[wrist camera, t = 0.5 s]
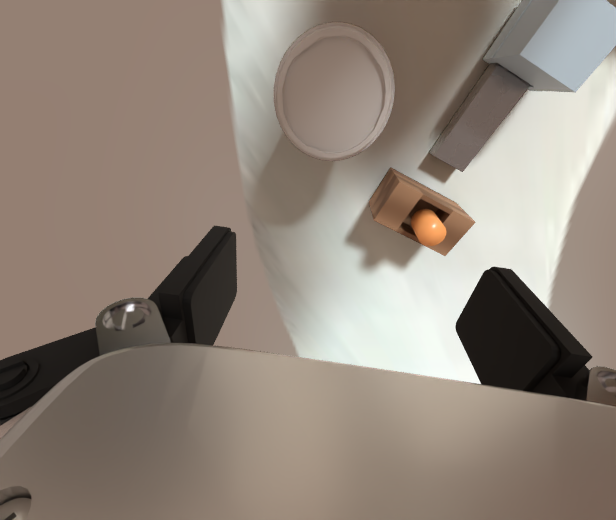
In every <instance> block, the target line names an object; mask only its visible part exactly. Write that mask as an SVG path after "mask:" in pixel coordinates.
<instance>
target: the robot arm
mask: <svg viewBox="0 0 616 520" xmlns="http://www.w3.org/2000/svg"><path fill="white" fill-rule="evenodd" d="M236 271H237V270H236V234H235V232H231V229H230V228H227V227H220V226H214V227H213V228H212V229H211V230H210V231H209V232H208V234H207V235H206V236H205V237H204V238H203V239H202V241H201V242H200V243H199V245H197V246H196V248H195V249H194V250H193V251H192V252H191V254H190V255H189V256H186V257H184V258H183V259H182V260H181V261H180V262H179V263H178V264H177V266H176V267H175V268H174V269H173V270H172V271H171V273H170V274H169V275H168V276H167V277H166V278H165V279H164V281H163V282H162V283H161V284H160V285H159V286H158V287H157V289H156V290H155V291H154V292H153V293H152V294H151V296H150V297H149V298H148V299H145V298H128V299H123V300H120V301H117V302H115V303H113V304H111V305H109V306H107V307H106V308H105V309H103V310H102V311H101V312H100V313H99V315H98V316H97V318H96V323H95V326H96V327H95V328H93V329H90V330H87V331H84V332H81V333H78V334H75V335H72V336H69V337H66V338H63V339H60V340H58V341H55V342H52V343H49V344H46V345H43V346H40V347H37V348H34V349H31V350H28V351H25V352H22V353H19V354H16V355H13V356H11V357H8V358H5V359H3V360H0V520H616V370H614V369H610V368H607V367H601V366H596V367H593V368H591V369H590V370H589V369H588V368H587V367H586V366H585V364H586V363H587V362H588V361H589V360H590V359H591V358H592V356H591V355H590V354H589V353H588V352H587V350H586V349H585V348H584V347H583V346H582V345H581V344H580V343H579V342H578V341H577V340H576V339H575V337H574V336H573V335H572V334H571V333H570V332H569V331H568V330H567V329H566V328H565V327H564V326H563V325H562V323H561V322H560V321H559V320H558V319H557V318H556V317H555V316H554V315H553V314H552V313H551V312H550V310H549V309H548V308H547V307H546V306H545V305H544V304H543V303H542V302H541V301H540V300H539V299H538V298H537V296H536V295H535V294H534V293H533V292H532V291H531V290H530V289H529V288H528V287H527V286H526V285H525V283H524V282H523V281H522V280H521V279H520V278H519V277H518V276H517V275H516V274H515V273H514V272H513V271H512V270H511V269H506V268H499V267H491V268H490V269H489V270H486V271H484V273H483V275H482V276H481V278H480V280H479V282H478V284H477V286H476V287H475V289H474V291H473V293H472V295H471V297H470V298H469V300H468V302H467V304H466V306H465V308H464V309H463V311H462V313H461V315H460V317H459V318H458V320H457V322H456V332H457V334H458V336H459V338H460V340H461V342H462V344H463V346H464V349H465V351H466V353H467V355H468V357H469V359H470V361H471V363H472V365H473V367H474V369H475V372H476V374H477V376H478V378H479V380H480V382H481V384H476V383H470V382H463V381H457V380H450V379H444V378H437V377H431V376H424V375H417V374H411V373H404V372H397V371H391V370H384V369H377V368H371V367H364V366H357V365H351V364H344V363H337V362H330V361H323V360H316V359H309V358H302V357H295V356H288V355H281V354H274V353H268V352H261V351H253V350H247V349H239V348H231V347H222V346H213V344H214V342H215V340H216V338H217V336H218V334H219V332H220V329H221V327H222V325H223V323H224V321H225V318H226V317H227V314H228V312H229V310H230V308H231V306H232V304H233V301H234V299H235V297H236V292H237V277H236V276H237V274H236V273H237V272H236Z"/></svg>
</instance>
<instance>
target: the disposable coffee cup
mask: <svg viewBox="0 0 616 520" xmlns="http://www.w3.org/2000/svg"><path fill="white" fill-rule="evenodd" d="M394 94H395V85H394V74H393V70H392V67H391V64H390V60H389V58H388V56H387V54H386V52H385V50H384V49H383V47H382V46H381V44H380V43H379V42H378V41H377V40H376V39H375V38H374V37H373V36H372V35H371V34H370V33H368V32H367V31H365V30H364V29H362V28H361V27H358V26H355V25H352V24H349V23H345V22H330V23H325V24H320V25H318V26H315V27H313V28H311V29H309V30H307V31H306V32H305V33H303V34H302V35H300V36H299V37H298V38H297V39H296V40H295V41H294V42H293V43H292V44H291V46H290V47H289V48H288V50H287V51H286V53H285V54H284V56H283V58H282V60H281V62H280V65H279V68H278V70H277V73H276V78H275V84H274V105H275V110H276V115H277V118H278V121H279V123H280V126H281V128H282V130H283V131H284V133H285V135H286V136H287V138H288V139H289V140H290V141H291V142H292V144H293V145H294V146H295V147H297V148H298V149H299V150H300V151H302V152H303V153H305V154H307V155H309V156H311V157H314V158H316V159H320V160H326V161H336V160H343V159H347V158H350V157H353V156H355V155H357V154H359V153H360V152H362V151H364V150H365V149H366V148H367V147H369V146H370V145H371V144H372V143H373V142H374V141H375V140H376V139H377V137H378V136H379V135H380V134H381V132H382V131H383V129H384V127H385V126H386V124H387V121H388V119H389V117H390V114H391V110H392V107H393V102H394Z"/></svg>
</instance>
